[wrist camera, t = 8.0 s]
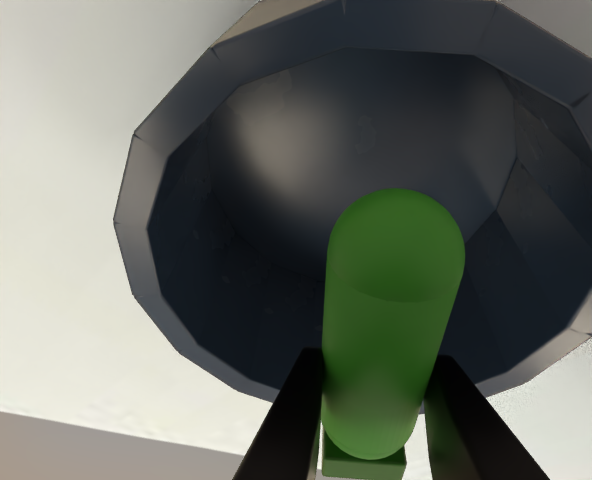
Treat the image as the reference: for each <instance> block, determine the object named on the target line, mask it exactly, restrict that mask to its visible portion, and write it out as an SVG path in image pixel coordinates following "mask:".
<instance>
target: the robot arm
mask: <svg viewBox="0 0 592 480" xmlns="http://www.w3.org/2000/svg"><path fill="white" fill-rule="evenodd" d="M322 388H323V353H322V348H321V347H310V346H306V347H304V348H303V349H302V350H301V352H300V354H299V356H298V358H297V360H296V362H295V363H294V365H293V367H292V369H291V371H290V373H289V375H288V377H287V378H286V380H285V382H284V384H283V386H282V388H281V390H280V391H279V393H278V395H277V397H276V399H275V401H274V403H273V404H272V406H271V408H270V410H269V412H268V414H267V416H266V418H265V419H264V421H263V423H262V425H261V427H260V429H259V431H258V432H257V434H256V436H255V438H254V440H253V442H252V444H251V445H250V447H249V449H248V451H247V453H246V455H245V457H244V459H243V460H242V462H241V464H240V466H239V468H238V470H237V472H236V473H235V475H234V477H233V479H232V480H315V475H316V469H317V462H318V454H319V439H320V423H321V408H322ZM423 401H424V412H425V422H426V433H427V443H428V453H429V462H430V468H431V473H432V478H433V480H550V479H549V478H548V476H547V475H546V474H545V473H544V471H543V470H542V469H541V468H540V466H539V465H538V464H537V463H536V461H535V460H534V459H533V458H532V456H531V455H530V454H529V452H528V451H527V450H526V449H525V447H524V446H523V445H522V444H521V442H520V441H519V440H518V439H517V437H516V436H515V435H514V434H513V432H512V431H511V430H510V429H509V427H508V426H507V425H506V423H505V422H504V421H503V420H502V418H501V417H500V416H499V415H498V413H497V412H496V411H495V410H494V408H493V407H492V406H491V405H490V403H489V402H488V401H487V400H486V398H485V397H484V396H483V395H482V393H481V392H480V391H479V389H478V388H477V387H476V386H475V384H474V383H473V382H472V381H471V379H470V378H469V377H468V376H467V374H466V373H465V372H464V371H463V369H462V368H461V367H460V366H459V364H458V363H457V362H456V360H455V359H454V358H453V357H452V356H450V355H442V354H437V357H436V361H435V364H434V367H433V370H432V373H431V376H430V379H429V383H428V386H427V389H426V392H425V395H424V398H423Z"/></svg>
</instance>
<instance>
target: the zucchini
mask: <svg viewBox="0 0 592 480" xmlns="http://www.w3.org/2000/svg"><path fill="white" fill-rule="evenodd" d="M464 265H465V246H464V241H463V237H462V235H461V232H460V229H459V227H458V225H457V223H456V222H455V220H454V219H453V217H452V216H451V214H450V213H449V212H448V211H447V210H446V209H445V208H444V207H443V206H442V205H441V204H439V203H438V202H437V201H435V200H434V199H433V198H431V197H429V196H427V195H425V194H423V193H420V192H417V191H413V190H408V189H400V188H389V189H382V190H378V191H375V192H372V193H370V194H367V195H365V196H362V197H361V198H359V199H357V200H356V201H355V202H353V203H352V204H351V205H350V206H348V207H347V208H346V209H345V210H344V212H343V213H342V214H341V216H340V217H339V218H338V220H337V221H336V223H335V225H334V227H333V230H332V232H331V234H330V239H329V244H328V249H327V263H326V280H325V298H324V316H323V334H322V353H323V388H322V408H321V422H322V425H323V435H322V475H323V476H326V477H339V478H353V479H365V480H402V477H403V474H404V471H405V468H406V464H407V462H406V455H405V447H404V444H405V443H406V442H407V440H408V439H409V437H410V436H411V434H412V432H413V429H414V427H415V424H416V420H417V417H418V414H419V411H420V408H421V405H422V402H423V398H424V395H425V392H426V389H427V386H428V383H429V379H430V376H431V373H432V370H433V367H434V364H435V361H436V357H437V354H438V351H439V348H440V345H441V342H442V339H443V335H444V332H445V329H446V326H447V323H448V320H449V316H450V313H451V310H452V307H453V304H454V301H455V298H456V294H457V291H458V288H459V285H460V282H461V279H462V276H463V270H464Z"/></svg>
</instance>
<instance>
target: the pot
mask: <svg viewBox="0 0 592 480" xmlns="http://www.w3.org/2000/svg"><path fill="white" fill-rule="evenodd" d="M389 188H400V189H408V190H413V191H417V192H420V193H423V194H425V195H427V196H429V197H431V198H433V199H434V200H435V201H437V202H438V203H439V204H441V205H442V206H443V207H444V208H445V209H446V210H447V211H448V212H449V213H450V214H451V216H452V217H453V219H454V220H455V222H456V223H457V225H458V227H459V229H460V232H461V235H462V237H463V241H464V246H465V265H464V270H463V276H462V279H461V282H460V285H459V288H458V291H457V294H456V298H455V301H454V304H453V307H452V310H451V313H450V316H449V320H448V323H447V326H446V329H445V332H444V335H443V339H442V342H441V345H440V348H439V351H438V354H442V355H450V356H452V357H453V358H454V359H455V360H456V362H457V363H458V364H459V366H460V367H461V368H462V369H463V371H464V372H465V373H466V374H467V376H468V377H469V378H470V379H471V381H472V382H473V383H474V384H475V386H476V387H477V388H478V389H479V391H480V392H481V393H482V395H483V396H484V397H485V398H486V397H489V396H492V395H495V394H497V393H500V392H503V391H506V390H508V389H511V388H514V387H517V386H520V385H522V384H524V383H525V382H528V381H530V380H531V379H532V378H534V377H535V376H537V375H538V374H540V373H541V372H542V371H544V370H545V369H547V368H548V367H550V366H551V365H552V364H554V363H555V362H557V361H558V360H560V359H561V358H562V357H564V356H565V355H567V354H568V353H570V352H571V351H572V350H574V349H575V348H577V347H578V346H580V345H581V344H582V343H584V342H585V341H587V340H588V339H590V338H591V337H592V58H590V57H589V56H587V55H585V54H584V53H582V52H581V51H579V50H577V49H576V48H574V47H572V46H571V45H569V44H567V43H566V42H564V41H563V40H561V39H559V38H558V37H556V36H554V35H553V34H551V33H549V32H548V31H546V30H544V29H543V28H541V27H540V26H538V25H536V24H535V23H533V22H531V21H530V20H528V19H526V18H525V17H523V16H521V15H520V14H518V13H517V12H515V11H513V10H512V9H510V8H508V7H507V6H505V5H503V4H502V3H500V2H497V1H495V0H262V1H260V2H259V3H257V4H256V5H255V6H253V7H252V8H251V9H250V10H249V11H248V12H247V13H246V14H245V15H244V16H243V17H241V18H240V19H239V20H238V21H237V22H236V23H235V24H234V25H233V26H232V27H231V28H230V29H228V30H227V31H226V32H225V33H224V34H223V35H222V36H221V37H220V38H219V39H218V40H216V41H215V42H214V43H213V44H212V45H211V46H210V47H209V48H208V49H207V50H206V51H205V52H204V53H203V55H202V56H201V57H200V58H199V59H198V60H197V61H196V62H195V63H194V65H193V66H192V67H191V68H190V69H189V70H188V71H187V72H186V74H185V75H184V76H183V77H182V78H181V79H180V80H179V81H178V83H177V84H176V85H175V86H174V87H173V88H172V89H171V90H170V91H169V93H168V94H167V95H166V96H165V97H164V98H163V99H162V100H161V102H160V103H159V104H158V105H157V106H156V107H155V108H154V109H153V111H152V112H151V113H150V114H149V115H148V116H147V117H146V118H145V120H144V121H143V122H142V123H141V124H140V125H139V126H138V127H137V128H136V130H135V131H134V134H133V135H132V140H131V144H130V148H129V152H128V157H127V161H126V165H125V170H124V174H123V178H122V183H121V187H120V191H119V196H118V200H117V204H116V209H115V213H114V217H113V221H114V223H113V224H114V228H115V232H116V236H117V239H118V243H119V247H120V250H121V254H122V258H123V262H124V265H125V269H126V273H127V277H128V280H129V284H130V288H131V291H132V295H134V298H135V299H136V300H137V302H138V303H139V304H140V305H141V307H142V308H143V309H144V311H145V312H146V313H147V314H148V316H149V317H150V318H151V319H152V321H153V322H154V323H155V324H156V326H157V327H158V328H159V329H160V331H161V332H162V333H163V334H164V336H165V337H166V338H167V339H168V341H169V342H170V343H171V344H172V346H173V347H174V348H175V349H176V351H178V353H179V354H181V355H182V356H184V357H185V358H187V359H189V360H190V361H192V362H193V363H195V364H196V365H198V366H199V367H201V368H202V369H204V370H205V371H207V372H209V373H210V374H212V375H213V376H215V377H216V378H218V379H219V380H221V381H222V382H224V383H225V384H227V385H228V386H230V387H232V388H233V389H235V390H237V391H238V392H241V393H244V394H247V395H250V396H253V397H256V398H260V399H263V400H266V401H269V402H272V403H274V401H275V399H276V397H277V395H278V393H279V391H280V390H281V388H282V386H283V384H284V382H285V380H286V378H287V377H288V375H289V373H290V371H291V369H292V367H293V365H294V363H295V362H296V360H297V358H298V356H299V354H300V352H301V350H302V349H303V348H304V347H306V346H310V347H321V348H322V334H323V316H324V298H325V280H326V263H327V249H328V244H329V239H330V234H331V232H332V230H333V227H334V225H335V223H336V221H337V220H338V218H339V217H340V216H341V214H342V213H343V212H344V210H345V209H346V208H347V207H348V206H350V205H351V204H352V203H353V202H355V201H356V200H357V199H359V198H361V197H362V196H365V195H367V194H370V193H372V192H375V191H378V190H382V189H389ZM419 414H425V412H424V401H423V402H422V405H421V408H420V411H419Z"/></svg>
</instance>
